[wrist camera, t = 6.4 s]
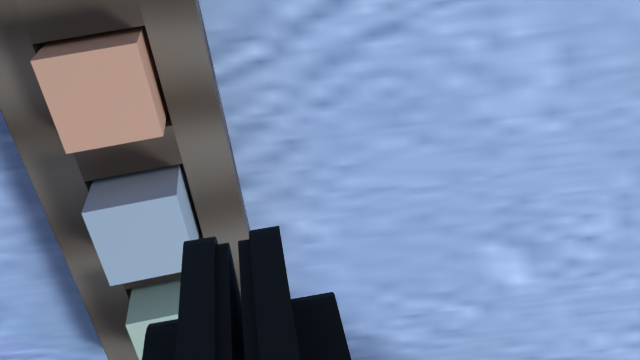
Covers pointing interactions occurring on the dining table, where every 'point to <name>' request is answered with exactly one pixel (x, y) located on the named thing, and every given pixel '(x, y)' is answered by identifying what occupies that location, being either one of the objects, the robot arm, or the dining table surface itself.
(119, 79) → the terracotta button
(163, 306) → the sage button
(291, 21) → the dining table surface
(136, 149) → the console
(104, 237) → the slate button
